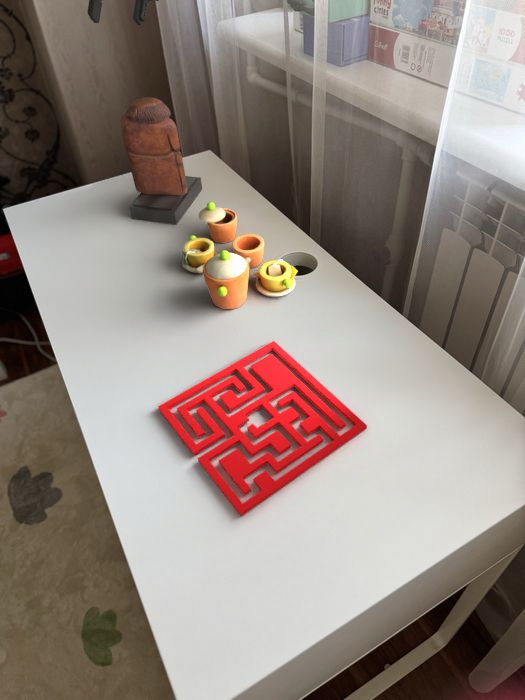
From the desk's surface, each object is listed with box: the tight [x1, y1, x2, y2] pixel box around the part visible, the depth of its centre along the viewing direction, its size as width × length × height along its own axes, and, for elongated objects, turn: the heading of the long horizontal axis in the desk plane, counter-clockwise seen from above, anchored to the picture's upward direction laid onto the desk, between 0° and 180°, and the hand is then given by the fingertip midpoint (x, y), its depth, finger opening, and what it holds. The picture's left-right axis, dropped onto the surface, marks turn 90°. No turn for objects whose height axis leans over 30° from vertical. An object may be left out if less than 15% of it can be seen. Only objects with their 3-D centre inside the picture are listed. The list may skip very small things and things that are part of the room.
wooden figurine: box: [120, 96, 187, 195], centre depth 103 cm, size 12×6×18 cm, turn 81°
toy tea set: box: [181, 201, 299, 310], centre depth 92 cm, size 26×16×10 cm, turn 31°
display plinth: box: [128, 175, 203, 226], centre depth 110 cm, size 10×14×3 cm
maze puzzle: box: [157, 340, 368, 517], centre depth 72 cm, size 20×20×1 cm
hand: (115, 21), depth 93 cm, fingers open, 8 cm apart
